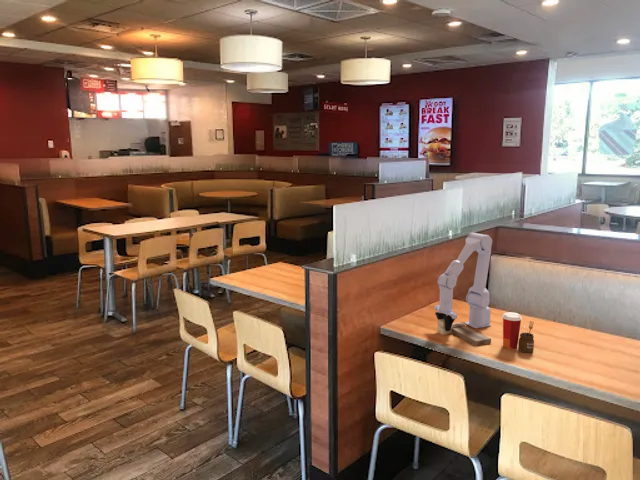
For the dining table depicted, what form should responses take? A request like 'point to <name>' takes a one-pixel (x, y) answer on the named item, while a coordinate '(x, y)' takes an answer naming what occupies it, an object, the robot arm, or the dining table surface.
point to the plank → (470, 335)
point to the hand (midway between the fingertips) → (444, 329)
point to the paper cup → (511, 329)
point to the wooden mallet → (442, 326)
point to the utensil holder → (526, 341)
